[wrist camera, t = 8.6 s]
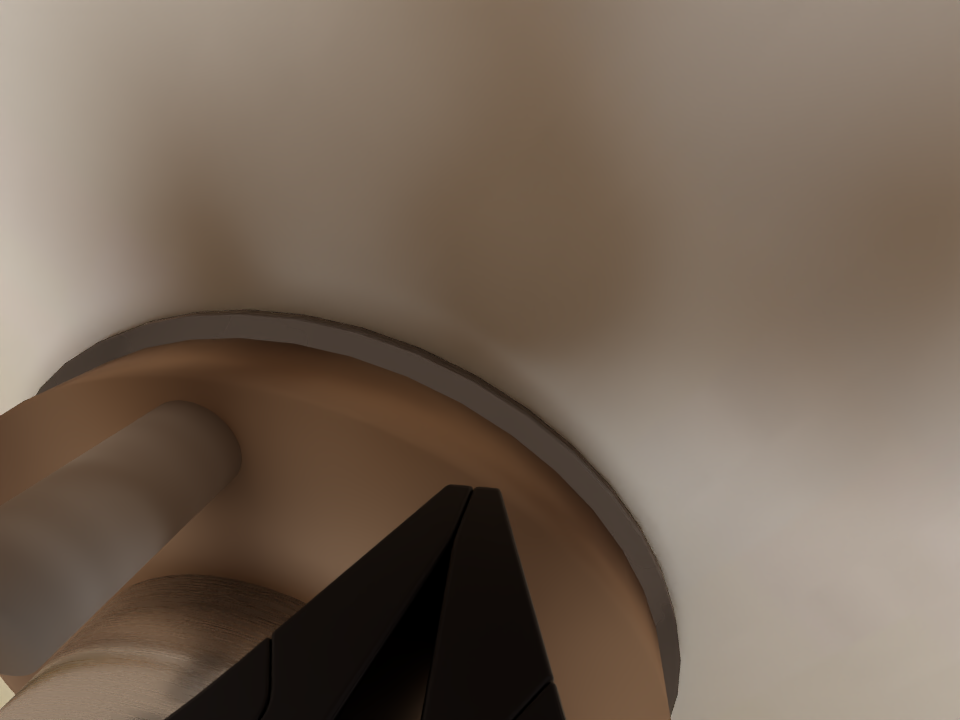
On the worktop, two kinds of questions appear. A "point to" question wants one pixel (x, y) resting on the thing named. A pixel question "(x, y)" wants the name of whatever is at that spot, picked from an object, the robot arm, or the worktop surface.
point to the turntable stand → (443, 381)
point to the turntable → (288, 501)
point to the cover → (153, 649)
